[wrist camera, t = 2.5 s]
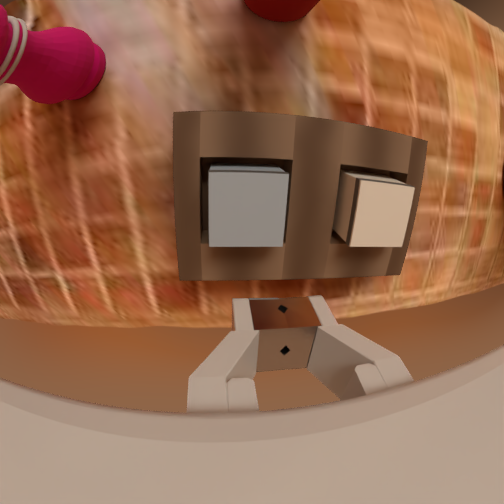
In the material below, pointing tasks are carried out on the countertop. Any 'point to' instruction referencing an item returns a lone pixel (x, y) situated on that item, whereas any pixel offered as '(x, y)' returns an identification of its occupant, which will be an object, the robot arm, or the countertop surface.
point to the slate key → (246, 205)
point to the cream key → (372, 209)
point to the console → (298, 197)
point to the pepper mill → (48, 61)
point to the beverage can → (281, 9)
